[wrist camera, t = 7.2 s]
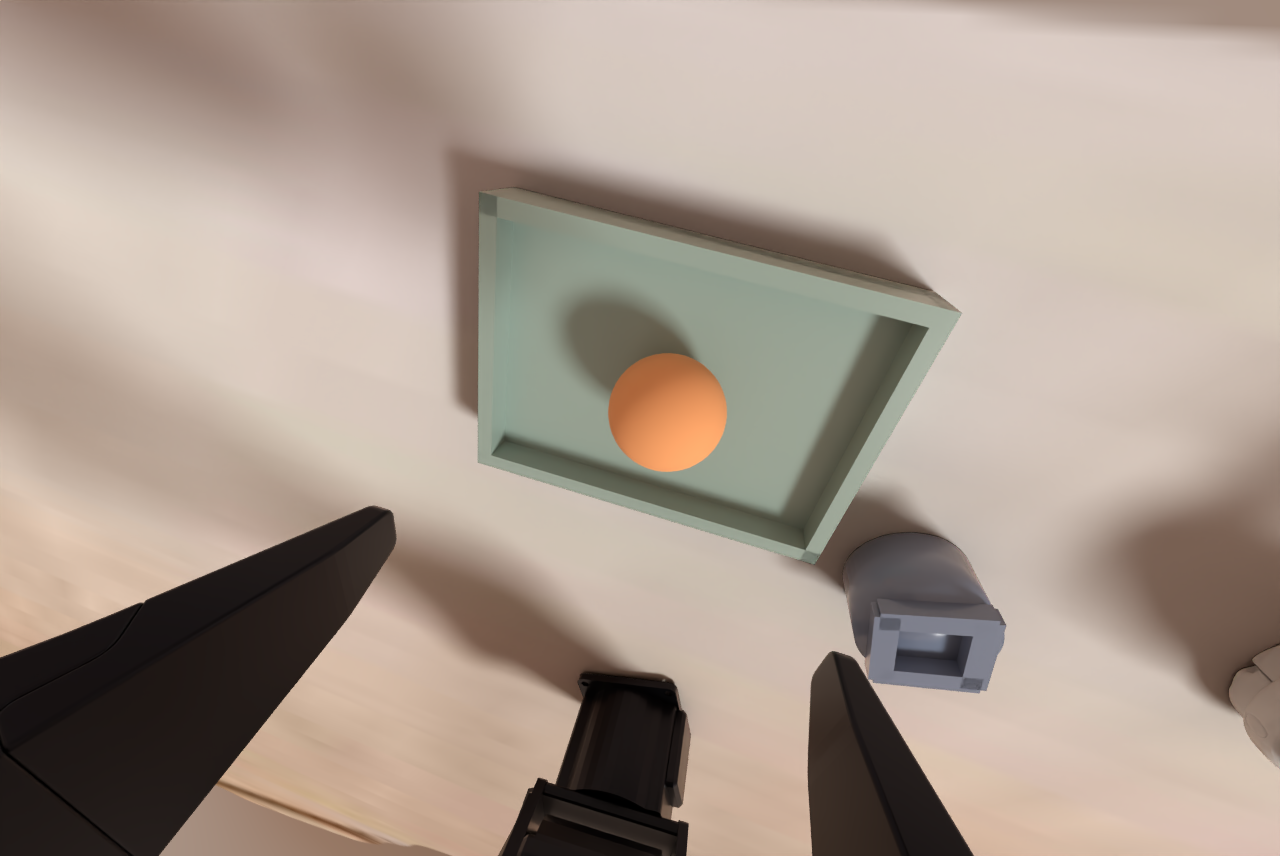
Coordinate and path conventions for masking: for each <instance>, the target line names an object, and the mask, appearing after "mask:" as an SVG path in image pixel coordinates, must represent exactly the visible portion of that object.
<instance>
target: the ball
mask: <svg viewBox="0 0 1280 856" xmlns="http://www.w3.org/2000/svg"><path fill="white" fill-rule="evenodd" d="M608 418H609V425H610V429H611V432H612V435H613V437H614V439H615V441H616V443H617V444H618V446H619V447H620V449H621V450H622V451H623V452H624V453H625V454H626V455H627V456H628V457H629V458H630V459H631V460H633V461H634V462H636V463H637V464H639V465H641V466H643V467H645V468H648V469H651V470H655V471H661V472H672V471H680V470H684V469H687V468H690V467H692V466H694V465H696V464H698V463H699V462H701V461H702V460H704V459H705V458H706V457H707V456H708V455H709V454H710V453H711V452H712V451H713V450H714V449H715V447H716V446H717V444H718V443H719V441H720V439H721V437H722V435H723V432H724V429H725V425H726V420H727V405H726V399H725V396H724V393H723V390H722V388H721V386H720V383H719V382H718V380H717V379H716V377H715V376H714V375H713V374H712V373H711V371H710V370H709V369H707V368H706V367H705V366H704V365H703V364H701V363H700V362H698V361H696V360H694V359H692V358H690V357H687V356H685V355H680V354H674V353H661V354H655V355H651V356H648V357H645V358H643V359H641V360H639V361H637V362H636V363H634V364H633V365H631V366H630V367H629V368H628V369H627V370H626V371H625V372H624V373H623V374H622V375H621V376H620V378H619V379H618V381H617V382H616V384H615V386H614V388H613V390H612V393H611V396H610V400H609V407H608Z"/></svg>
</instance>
